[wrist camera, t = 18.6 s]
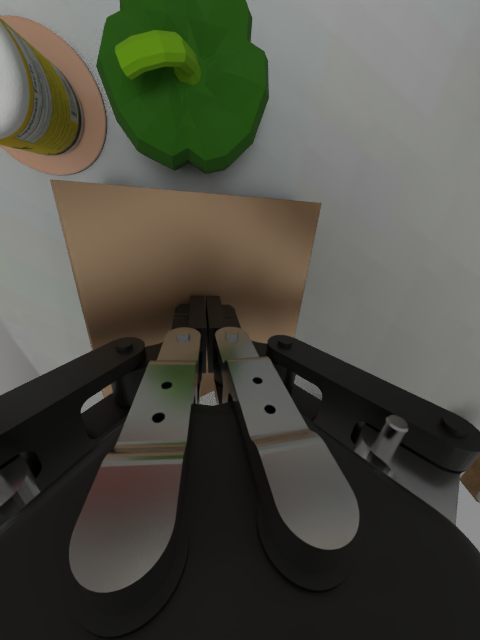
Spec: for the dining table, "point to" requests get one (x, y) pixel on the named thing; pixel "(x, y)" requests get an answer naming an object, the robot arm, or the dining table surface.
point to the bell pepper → (185, 79)
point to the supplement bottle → (35, 100)
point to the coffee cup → (473, 479)
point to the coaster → (87, 95)
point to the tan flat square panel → (183, 258)
